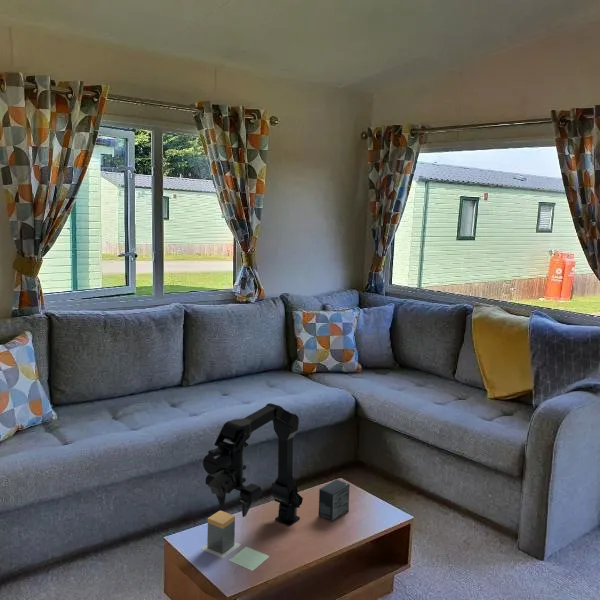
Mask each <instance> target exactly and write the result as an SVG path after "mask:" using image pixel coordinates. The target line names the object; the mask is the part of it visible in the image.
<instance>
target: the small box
mask: <svg viewBox="0 0 600 600" xmlns="http://www.w3.org/2000/svg"><path fill="white" fill-rule="evenodd" d="M318 490H319V492H318V493H319V494H318V495H319V497H318V517H320V518H322V519H324V520H326V521H328V522H331V523H333V522H334V521H336V520H337V519H339V518H341V517H342V516H344V515H345V514H347V513H348V512H349V511H350V507H349V505H350V483H348V482H344V481H342V480H340V479H335V480H332V481H331V482H329V483H328V484H326V485H324V486H322V487H321V488H319V489H318Z"/></svg>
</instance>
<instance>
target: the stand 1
mask: <svg viewBox="0 0 600 600" xmlns="http://www.w3.org/2000/svg"><path fill="white" fill-rule="evenodd" d="M240 546H242V544H240V543H238V542H235V541H234V546H233V547H231V548H230V549H229V550H227V551H226V552H225V553H224V554H220V553H218V552H216V551H213V550H211V549H209V548H207V543H206V544H205V545H204V546H202V547H200V550H203V551H204V552H208V553H210V554H211V555H214V556H217V557H219V558H220V559H225V558H226V557H227V556H228V555H230V554H232V552H234V551H235V550H237V549H238V548H239V547H240Z"/></svg>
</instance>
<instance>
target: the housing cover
mask: <svg viewBox="0 0 600 600" xmlns="http://www.w3.org/2000/svg"><path fill="white" fill-rule="evenodd" d="M233 521H235V522H236V515H234V514H230V513H229V512H226V511H223V510H219V511H217V512H215V513H213V514H212V515H211V516H209V517H207V524H208V523H210V524H212V525H215V526H217V527H220V528H222V529H223V528H225V527H226V526H228V525H229V524H230V523H232V522H233Z"/></svg>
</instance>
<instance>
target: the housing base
mask: <svg viewBox="0 0 600 600" xmlns="http://www.w3.org/2000/svg"><path fill="white" fill-rule="evenodd" d="M235 527H236V520H235V521H233V522H232V523H230V524H229V525H228V526H226V527H225V528H223V529H222V528H220V527H217V526H215V525H212V524H210V523H208V522H207V537H206V538H207V540H206V541H207V543H206V544H207V548H209V549H211V550H213V551H216V552H218V553H220V554H224V553H225V552H226V551H227V550H229V549H230V548H231V547H233V546H234V542H235V533H236V532H235V531H236V529H235Z"/></svg>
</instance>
